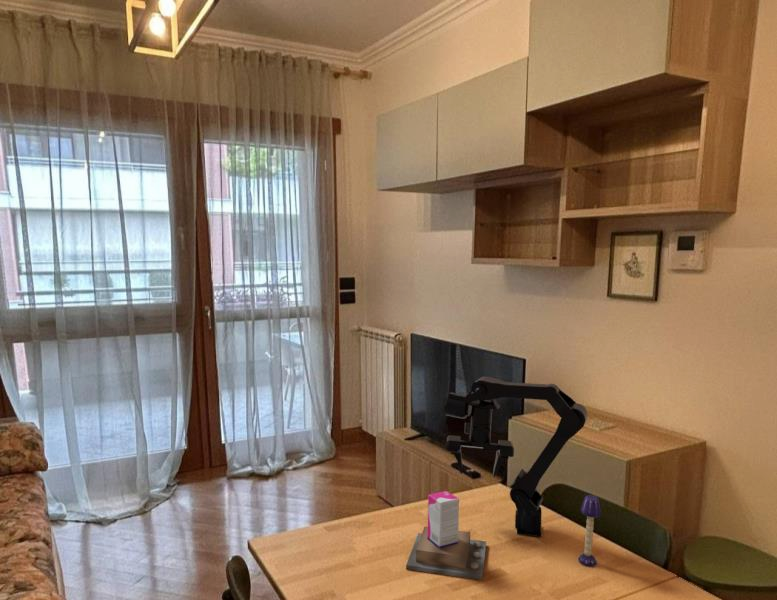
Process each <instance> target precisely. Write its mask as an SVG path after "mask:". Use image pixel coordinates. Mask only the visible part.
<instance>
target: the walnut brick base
mask: <svg viewBox="0 0 777 600" xmlns="http://www.w3.org/2000/svg"><path fill="white" fill-rule="evenodd" d="M427 533H428V526H424V527H423V529H422V532H418V533H417V535H416V538H415V540H414V544H413V546H412V548H411V550H410V554H409V556H408V559H407V562H406V564H405V569H406V570H411V571H418V572H424V573H430V574H431V573H432V574H437V575H442V576H443V575H444V576H445V575H446V576H449V577H451V576H452V577H458V578H466V579H473V580H477V581H478V580H479V581H482V580H483V577H484V576H483V575H484V566H485V559H486V551H487V550H486V549H487V541H483V540H479V539H478V540H477V539H471V532H470V531H465V530H458V543H457V544H455V545H451V546H447V547H444V548H440V549H439V548H438V547H437V546H436V545H434V544H433V543H432V542H431V541H430V540H428V539H427Z"/></svg>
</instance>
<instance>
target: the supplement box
mask: <svg viewBox="0 0 777 600" xmlns="http://www.w3.org/2000/svg"><path fill="white" fill-rule="evenodd" d="M427 495H428V497H427V498H428V502H427V505H428V507H427V527H428V533H427V539H428V540H430V541H431V542H432V543H433V544H434V545H436V546H437V547H438V548H439V549H440V548H444V547H447V546H451V545H455V544H457V543H458V531H459V521H460V520H459V519H460V515H459V514H460V513H459V512H460V499H459V498H458V497H457V496H455V495H454V494H452V493H450V492H449V491H447V490H444V491H439V492H436V493H430V494H427Z"/></svg>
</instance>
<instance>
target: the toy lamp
mask: <svg viewBox="0 0 777 600" xmlns="http://www.w3.org/2000/svg"><path fill="white" fill-rule="evenodd" d="M601 511H602V509H601V505H600V500H599V498H598V497H597V496H596V495H592V494H588V495H585V497H584V499H583V502H582V505H581V507H580V512H581V514H583V516H586V518H587V519H586V522H585V523H586V526H585V537H584V541H585V542H584V551H583V553H581V554H579V556H578V559H577V560H578V562H579V564H581V565H582V566H585V567H589V568H591V567H595V566H596V565H598V563H597V559H596V557H595V556H594V555H593V554H592V549H593V537H594V532H593V531H594V524H595V522H594V519H595V518H598V517H601V515H602V512H601Z"/></svg>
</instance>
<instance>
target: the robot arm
mask: <svg viewBox="0 0 777 600" xmlns="http://www.w3.org/2000/svg"><path fill="white" fill-rule="evenodd" d="M447 395H448V397H447V399H446V402H445V404H444V414H445V416H446V417H448V416H449V417H452V418H458V419H463V420H465V419H466V418H467V417H470V416H471V417H470V422H464V434H466V435H469V437H468V438H469V440H463V439H462V440H461V438H462V437H461V436H460V435H448V436H447V437H446V447H445V449H446V451H448V452H450V454H451V455H453V456H454V458H455V460H456V463H457V464H458V469H459V472H460V474H461V475H462V474H463V460H462V459H463V458H462V448H465V449H474V450H475V449H476V450H486V451H496V453H495V459H494V463H493V464H494V465H493V470H492V471H493V472H492V477H493V478H495V477H496V476H497V473H498V471H499V470H500V468H501V466H502V464H503V462H505V460H509V458H512V457H514V455H515V453H514V452H515V449H514V448H515V447H514V444H513V442H512V441H511V440H503V439H498V441H497V443H495V442H491V433H492V432H491V431H492V421H493V416H492V415H493V410H494V411H496V410H498V409H500V407H501V405H500V404H499V403H498V401H497V399H501V398H510V399H512V398H513V399H521V400H522V399H526V400H539V401H541V400H542V401H546V402H548V404H549V405H550V406H551V407H552V409H553V410H554V412H555V413H556V415H558V416H559V417H560V420H559V422H558V425H557V428H556V429H555V432H554V434H553V435H552V436H551V437H550V439H549V441H548V442H547V443H546V445H545V446H544V447H543V450H542V451H541V452H540V453H539V455H538V456H537V458H536V459H535V461H534V462H533V463H532V465H531V467H530V468H528V470H524V468H521V469H520V471H519V472H518V474H517V476H516V477H515V478H514V479H513V481H512V482H511V484H510V486H509V489H510V491H509V497H510V500H511V501H512V502H513V504H514V505H515V507H516V508H515V515H514V516H515V517H514V518H515V519H514V524H515V525H514V529H515V530H516V534H517V535H524V536H530V537H531V536H532V537H542V536H543V534H542V514H543V513H542V507H541V504H542V503H543V500H544V496H542V494H540V492H539V491H538V490H537V488H538V486H539V484H540V481H541V479H542V478H543V476H544V474H545V473H546V472H547V470H548V469H549V468H550V466H551V465H552V463H553V462H554V460H555V459H556V458H557V457H558V455H559V454H560V452H561V451H562V449H563V448H564V446H565V445H566V443H567V442H568V441H569V440H570V439H572V438H573V437H574V436H575V435H576V434H578V433H579V431H580V430H582V429H583V428H584V426H585V425H586V422H587V419H588V417H589V414H588V413H589V412H588V410H587V409H586V407H585V406H584V405H583V404H580V403H579V402H578V403H577V402H576V401H575V400H574V399H573V398H572V397H570V396H569V395H568V394H567V393H566V392H564V390H562V389H561V388H560V387H559V386H558V385H556V384H555V383H549V384H548V383H530V382H529V383H527V382H509V381H504V380H501V379H498V378H496V377H495V378H494V377H491V376H481V377H479V378H478V379H477V380H475V381H473V383H472V385H471V386H470V391H469V392H468V393H467V394H460V393H456V392H452V391H451V392H449V393H448V394H447ZM477 400H478V401H477Z"/></svg>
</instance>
